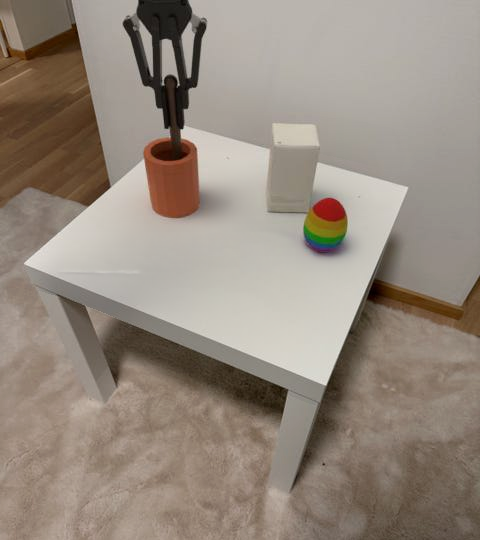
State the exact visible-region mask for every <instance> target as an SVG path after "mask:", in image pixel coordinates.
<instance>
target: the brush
mask: <svg viewBox="0 0 480 540" xmlns="http://www.w3.org/2000/svg"><path fill="white" fill-rule="evenodd" d="M163 85H165V88H166V98H167V108H168V118H169V137H170V138H171V148H172V158H173V161H176V160H181V159H183V154H182V142H181V138H182V129H179V121H178V109H177V97H176V91H177V87H178V86H179V79H178V77H176V76H175V75H174V74H172V73H169V74H167V75H165V76H164V79H163Z"/></svg>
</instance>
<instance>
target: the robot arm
mask: <svg viewBox="0 0 480 540" xmlns="http://www.w3.org/2000/svg"><path fill="white" fill-rule="evenodd" d="M140 22H141V24H142V25H143V27H145V29H146V31H148V33H149V35H150V36H151V47H152V48H151V49H152V74H151V71H150V67H149V63H148V57H147V55H146V51H145V46H144V43H143V42H144V41H143V39H142V34H141V31H140V29H141V24H140ZM189 24H191V31H192V33H193V34H194V37H193V42H192V44H193V45H192V56H191V68H190V69H191V70H190V77H188V72H187V65H186V59H185V52H184V46H183V33H184V32H185V30H186V29H187V27H188V25H189ZM122 27H123V29H124V31H125V32H126V33H127V35H128V37H129V39H130V42H131V46H132V50H133V54H134V57H135V61H136V65H137V68H138V73H139V76H140V81H141V84H142V85H143V86H144V87H149V88H151V89H152V90H153V91H154V92H153V93H154V98H155V99H154V101H155V106H156V109H158V110H159V109H161V111H162V118H163V128H164V130H170V128H169V118H168V108H167V98H166V88H165V85H164V84H163V82H164V79H163V40H168V41H171V47H172V49H173V56H174V61H175V67H176V72H177V80H178V85H177V91H176V97H177V109H178V121H179V129H181V130H184V129H185V110H188V109H189V107H190V95H189V94H190V93H189V90H190V89H195V88H197V87H198V84H199V76H200V68H201V67H200V66H201V56H202V44H203V38H204V35H205V33H206V30H207V28H208V20H207V18H206V17H202V18H201V17H200V16H198V15H196V14H195V13H193V8H192V6H191V5H190V1H189V0H137V6H136V11H135V12H134V13H133V14H131V15H129V14H128V15H126V16H125V17H124V19H123V21H122Z"/></svg>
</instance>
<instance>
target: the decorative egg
mask: <svg viewBox="0 0 480 540" xmlns="http://www.w3.org/2000/svg"><path fill="white" fill-rule="evenodd" d="M348 223H349V222H348V214H347V212H346V209H345V207H344V205H343V204H342V203H341V202H340V200H338V199H336V198H334V197H325V198H322V199H320V200H319V201H318V200H317V202H315V203H314V204H313V205H312V206H311V207H310V208H309V212H308V213H306V216H305V219H304V221H303V227H302V228H303V236H304V240H305V242H306V244H307V245H308V246H309V247H310V248H311V249H312V250H314V251H316V252H320V253H328V252H332V251H334V250H335V249H337V248H338V247H339V246H340V245H341V244H342V243H343V241H344V240H345V238H346V235H347V233H348V227H349V226H348V225H349V224H348Z"/></svg>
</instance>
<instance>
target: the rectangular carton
mask: <svg viewBox="0 0 480 540" xmlns="http://www.w3.org/2000/svg"><path fill="white" fill-rule="evenodd" d="M317 130H318V129H317V125H316V124H312V123H311V124H308V123H307V124H306V123H301V124H300V123H283V122H274V123H271V130H270V131H271V132H270V143H269V158H268V166H267V168H268V169H267V181H266V206H267V207H266V208H267V212H276V213H278V212H279V213H280V212H281V213H304V214H305V213H306V214H308V212H309V210H310V206H311V201H312V195H313V188H314V183H315V178H316V172H317V166H318V161H319V155H320V149H321V145H320V140H319V135H318V131H317Z"/></svg>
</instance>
